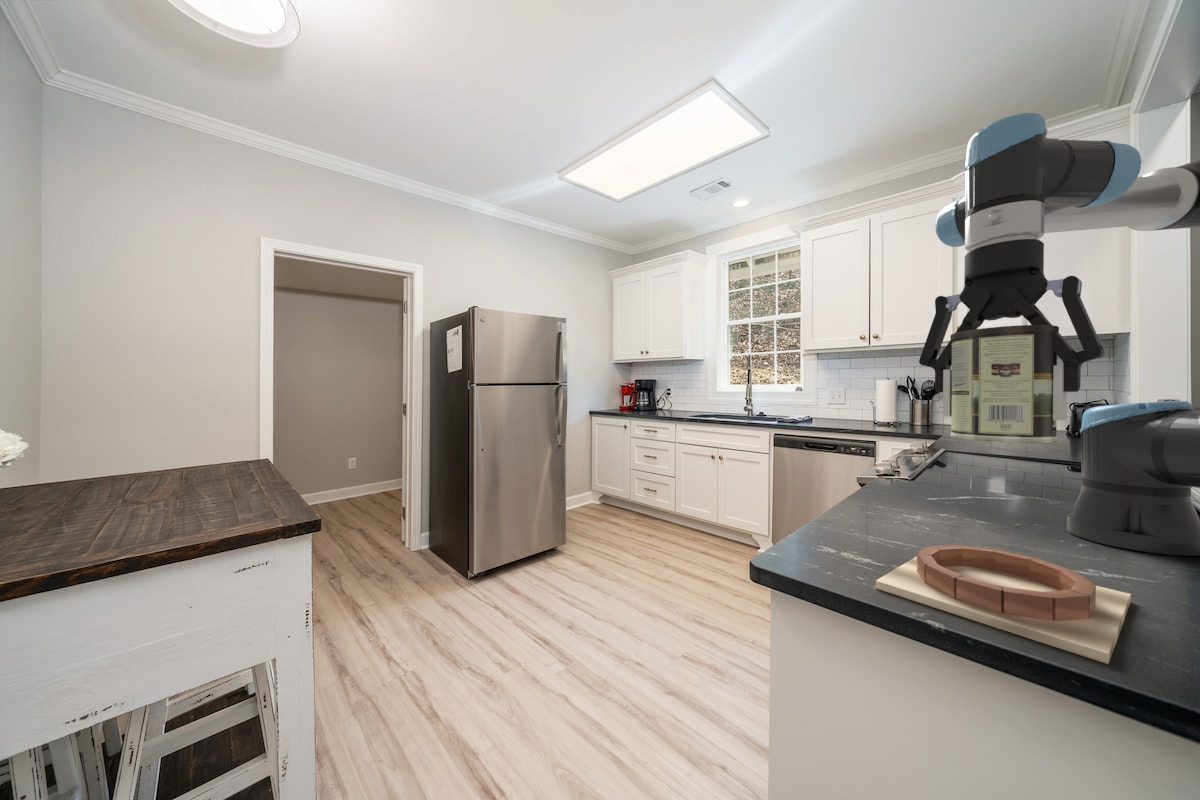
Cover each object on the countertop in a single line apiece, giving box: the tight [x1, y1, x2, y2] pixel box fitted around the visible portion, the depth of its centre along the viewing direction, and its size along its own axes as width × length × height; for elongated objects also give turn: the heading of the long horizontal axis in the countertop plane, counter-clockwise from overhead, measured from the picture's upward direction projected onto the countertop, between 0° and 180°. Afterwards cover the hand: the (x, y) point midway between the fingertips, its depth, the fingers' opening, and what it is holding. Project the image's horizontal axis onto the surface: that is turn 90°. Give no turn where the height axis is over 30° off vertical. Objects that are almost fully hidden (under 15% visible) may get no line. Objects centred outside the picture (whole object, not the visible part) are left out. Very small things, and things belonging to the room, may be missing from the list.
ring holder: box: [875, 544, 1132, 665], centre depth 55 cm, size 20×20×4 cm
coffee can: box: [950, 324, 1060, 444], centre depth 56 cm, size 10×10×14 cm
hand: (1000, 417), depth 56 cm, fingers closed on coffee can, 10 cm apart
